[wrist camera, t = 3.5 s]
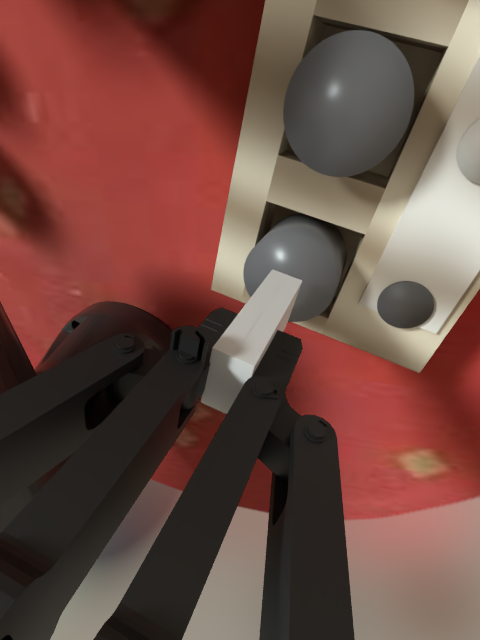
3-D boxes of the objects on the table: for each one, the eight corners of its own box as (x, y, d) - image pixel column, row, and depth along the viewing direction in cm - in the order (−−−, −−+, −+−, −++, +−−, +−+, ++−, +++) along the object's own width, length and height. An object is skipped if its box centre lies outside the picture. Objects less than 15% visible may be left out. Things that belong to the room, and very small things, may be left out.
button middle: (383, 174, 19) (379, 192, 15) (292, 146, 19) (270, 157, 16) (434, 56, 16) (441, 48, 12) (323, 30, 17) (304, 16, 13)
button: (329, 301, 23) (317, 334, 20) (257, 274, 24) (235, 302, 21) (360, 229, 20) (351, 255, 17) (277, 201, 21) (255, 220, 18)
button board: (418, 337, 25) (419, 378, 21) (233, 266, 27) (207, 292, 24) (814, -271, 11) (1014, -447, 7) (359, -301, 13) (342, -442, 10)
